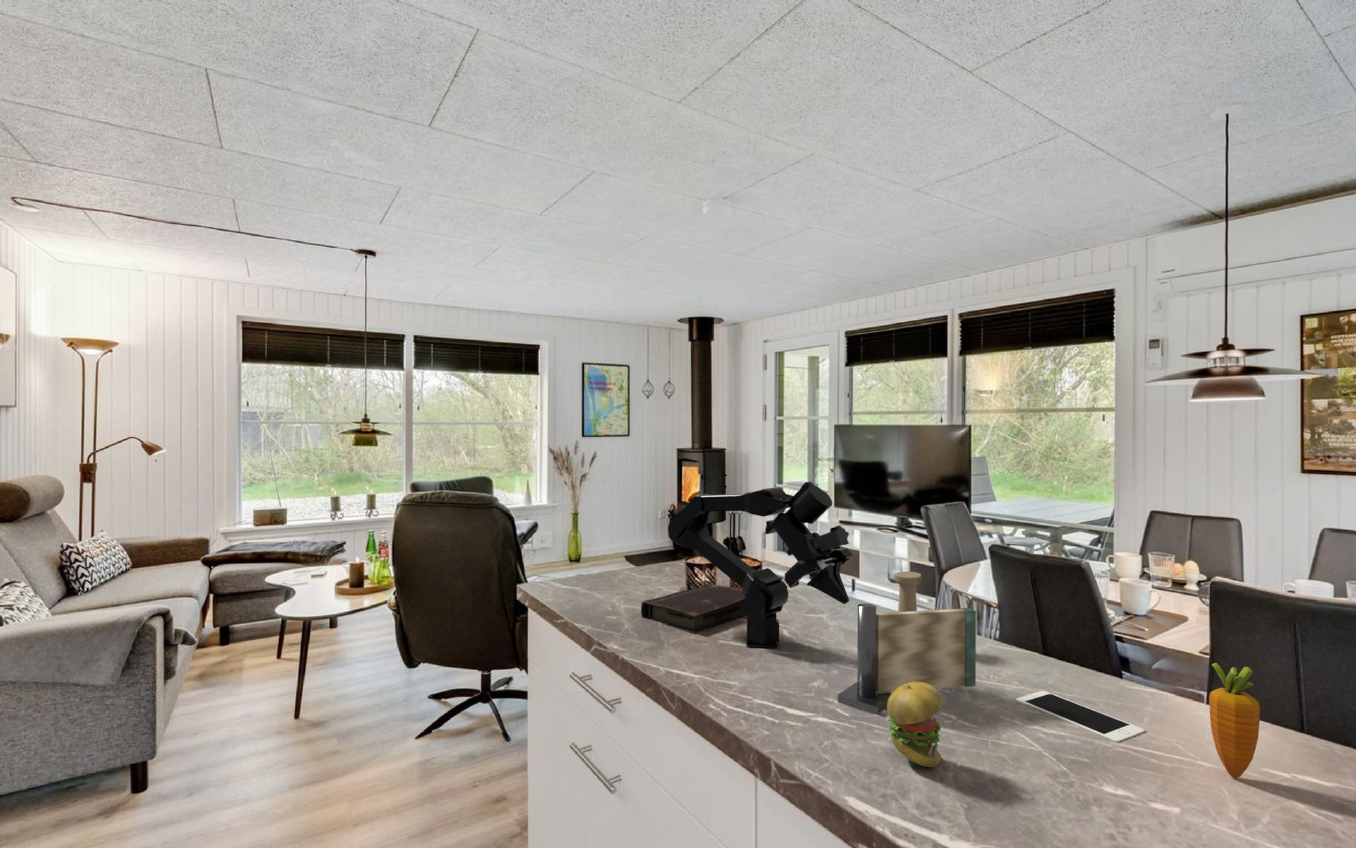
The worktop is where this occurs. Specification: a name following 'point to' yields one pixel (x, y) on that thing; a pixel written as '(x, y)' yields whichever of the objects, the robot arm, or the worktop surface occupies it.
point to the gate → (926, 648)
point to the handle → (907, 590)
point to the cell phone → (1081, 716)
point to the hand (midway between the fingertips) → (847, 602)
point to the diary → (696, 607)
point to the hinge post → (865, 667)
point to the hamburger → (915, 722)
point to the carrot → (1234, 720)
